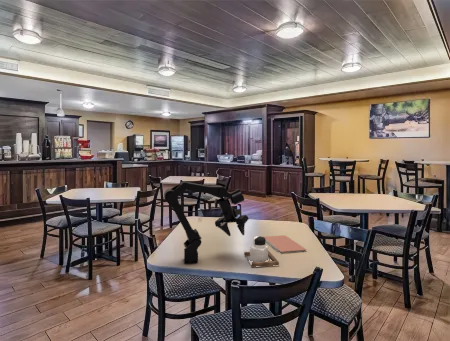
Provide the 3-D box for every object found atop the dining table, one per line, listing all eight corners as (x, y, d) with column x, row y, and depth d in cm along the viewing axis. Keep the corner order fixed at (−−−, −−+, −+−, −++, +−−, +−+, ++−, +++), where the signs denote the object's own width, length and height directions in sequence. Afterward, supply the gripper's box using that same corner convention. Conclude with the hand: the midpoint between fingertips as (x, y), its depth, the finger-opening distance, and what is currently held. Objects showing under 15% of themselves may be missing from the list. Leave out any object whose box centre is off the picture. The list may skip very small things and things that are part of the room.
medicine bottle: (268, 259, 152) (268, 236, 151) (262, 264, 146) (263, 240, 145) (255, 256, 155) (256, 234, 154) (249, 261, 149) (250, 237, 148)
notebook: (260, 239, 187) (260, 236, 187) (285, 237, 191) (285, 234, 191) (279, 254, 161) (279, 251, 161) (306, 252, 165) (306, 249, 165)
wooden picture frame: (252, 267, 142) (252, 263, 142) (244, 255, 157) (244, 251, 157) (278, 266, 144) (278, 262, 144) (268, 254, 160) (268, 250, 160)
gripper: (248, 200, 152) (258, 226, 154) (221, 203, 163) (231, 228, 166) (237, 209, 143) (248, 237, 146) (209, 212, 155) (220, 239, 157)
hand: (236, 235), depth 154 cm, fingers open, 9 cm apart
